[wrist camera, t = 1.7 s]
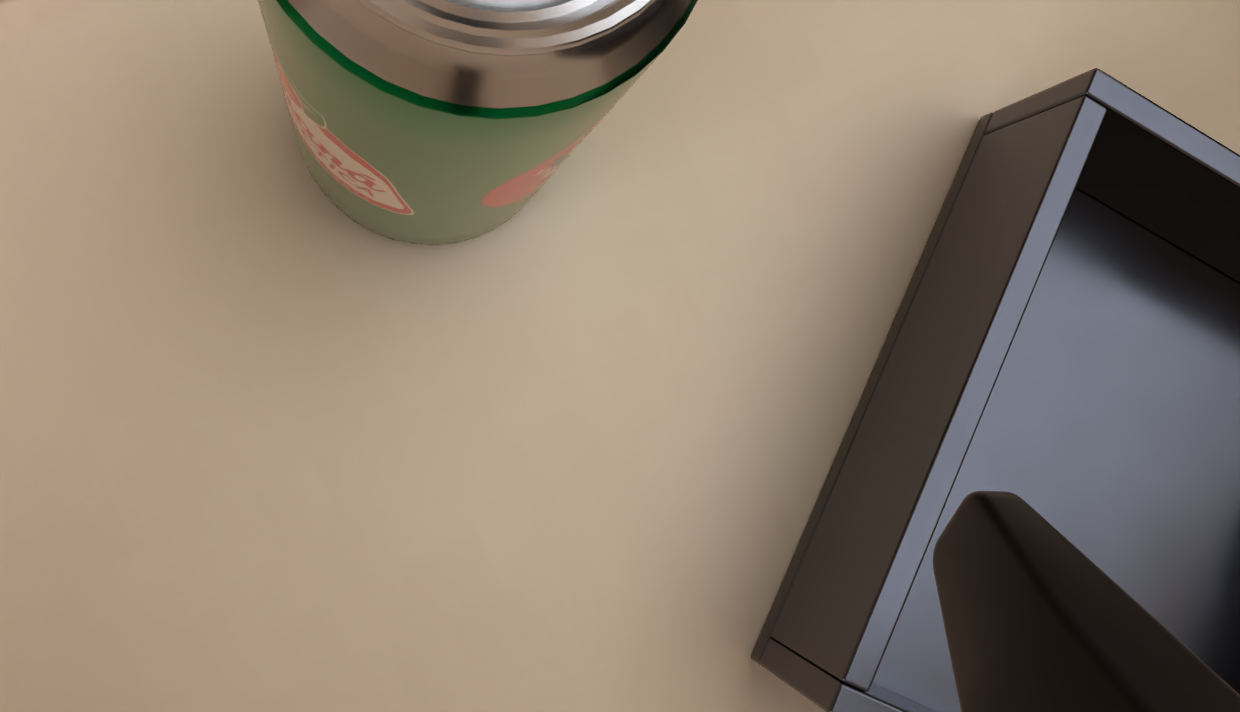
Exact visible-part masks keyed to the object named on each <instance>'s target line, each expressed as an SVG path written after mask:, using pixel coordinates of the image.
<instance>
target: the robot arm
mask: <svg viewBox="0 0 1240 712" xmlns="http://www.w3.org/2000/svg"><path fill="white" fill-rule="evenodd" d="M933 570H934V576H935V581H936V586H937V591H938V596H939V601H940V607H941V612H942V617H943V622H944V627H945V632H946V637H947V642H948V648H949V653H950V658H951V663H952V668H953V673H954V678H955V684H956V689H957V694H958V698H959V703H960V707H961V711H962V712H1240V695H1239V694H1238V693H1237V692H1236V691H1235V690H1234V689H1233V688H1232V687H1231V686H1230V685H1228V684H1227V683H1226V682H1225V681H1224V680H1223V679H1222V678H1221V677H1220V676H1218V675H1217V674H1216V673H1215V672H1214V671H1213V670H1212V669H1211V668H1210V667H1208V666H1207V665H1206V664H1205V663H1204V662H1203V661H1202V660H1201V659H1200V658H1198V657H1197V656H1196V655H1195V654H1194V653H1193V652H1192V651H1191V650H1190V649H1188V648H1187V647H1186V646H1185V645H1184V644H1183V643H1182V642H1181V641H1180V640H1178V639H1177V638H1176V637H1175V636H1174V635H1173V634H1172V633H1171V632H1170V631H1168V630H1167V629H1166V628H1165V627H1164V626H1163V625H1162V624H1161V623H1160V622H1158V621H1157V620H1156V619H1155V618H1154V617H1153V616H1152V615H1151V614H1150V613H1149V612H1147V611H1146V610H1145V609H1144V608H1143V607H1142V606H1141V605H1140V604H1139V603H1137V602H1136V601H1135V600H1134V599H1133V598H1132V597H1131V596H1130V595H1129V594H1127V593H1126V592H1125V591H1124V590H1123V589H1122V588H1121V587H1120V586H1119V585H1117V584H1116V583H1115V582H1114V581H1113V580H1112V579H1111V578H1110V577H1109V576H1107V575H1106V574H1105V573H1104V572H1103V571H1102V570H1101V569H1100V568H1099V567H1097V566H1096V565H1095V564H1094V563H1093V562H1092V561H1091V560H1090V559H1089V558H1087V557H1086V556H1085V555H1084V554H1083V553H1082V552H1081V551H1080V550H1079V549H1077V548H1076V547H1075V546H1074V545H1073V544H1072V543H1071V542H1070V541H1069V540H1067V539H1066V538H1065V537H1064V536H1063V535H1062V534H1061V533H1060V532H1059V531H1058V530H1056V529H1055V528H1054V527H1053V526H1052V525H1051V524H1050V523H1049V522H1048V521H1046V520H1045V519H1044V518H1043V517H1042V516H1041V515H1040V514H1039V513H1038V512H1036V511H1035V510H1034V509H1033V508H1032V507H1031V506H1030V505H1029V504H1028V503H1026V502H1025V501H1024V500H1023V499H1022V498H1020V497H1019V496H1017V495H1016V494H1014V493H1011V492H1005V491H975V492H972V493H970V494H968V495H967V496H966V497H965V498H964V499H963V501H962V502H961V504H960V505H959V507H958V508H957V510H956V512H955V513H954V515H953V516H952V518H951V519H950V521H949V522H948V524H947V526H946V527H945V529H944V530H943V532H942V533H941V535H940V537H939V538H938V540H937V542H936V544H935V547H934V551H933Z"/></svg>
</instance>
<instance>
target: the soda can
mask: <svg viewBox="0 0 1240 712" xmlns="http://www.w3.org/2000/svg"><path fill="white" fill-rule="evenodd" d="M697 1H698V0H258V2H259V5H260V9H261V12H262V16H263V19H264V23H265V27H266V30H267V34H268V37H269V41H270V45H271V48H272V52H273V55H274V59H275V62H276V66H277V70H278V73H279V77H280V80H281V84H282V87H283V91H284V95H285V98H286V102H287V105H288V109H289V113H290V116H291V120H292V123H293V127H294V130H295V134H296V137H297V141H298V144H299V148H300V151H301V154H302V157H303V159H304V161H305V163H306V165H307V167H308V170H309V172H310V174H311V176H312V177H313V178H314V180H315V181H316V183H317V184H318V186H319V187H320V189H321V190H322V192H323V193H324V194H325V195H326V196H327V197H328V198H329V199H330V200H331V201H332V202H333V204H334V205H335V206H336V207H337V208H338V209H340V210H341V211H342V212H343V213H345V214H346V215H347V216H348V217H350V218H351V219H352V220H354V221H355V222H357V223H358V224H360V225H362V226H364V227H366V228H367V229H369V230H371V231H373V232H375V233H378V234H380V235H383V236H386V237H388V238H391V239H394V240H398V241H403V242H408V243H412V244H427V245H439V244H449V243H456V242H460V241H464V240H468V239H472V238H475V237H477V236H480V235H482V234H484V233H486V232H489V231H491V230H493V229H494V228H496V227H498V226H499V225H501V224H502V223H504V222H505V221H507V220H508V219H510V218H511V217H512V216H513V215H514V214H515V213H516V212H517V211H518V210H520V209H521V208H522V207H523V206H524V205H525V204H526V203H527V202H528V200H529V199H530V198H531V197H532V196H533V195H534V194H535V193H536V192H537V190H538V189H539V188H540V187H541V186H542V185H543V184H544V183H545V182H546V180H547V179H548V178H549V177H550V176H551V175H552V174H553V173H554V172H555V170H556V169H557V168H558V167H559V166H560V165H561V164H562V163H563V162H564V160H565V159H566V158H567V157H568V156H569V155H570V154H571V153H572V152H573V151H574V149H575V148H576V147H577V146H578V145H579V144H580V143H581V142H582V141H583V139H584V138H585V137H586V136H587V135H588V134H589V133H590V132H591V131H592V129H593V128H594V127H595V126H596V125H597V124H598V123H599V122H600V121H601V119H602V118H603V117H604V116H605V115H606V114H607V113H608V112H609V111H610V109H611V108H612V107H613V106H614V105H615V104H616V103H617V102H618V101H619V100H620V98H621V97H622V96H623V95H624V94H625V93H626V92H627V91H628V90H629V88H630V87H631V86H632V85H633V84H634V83H635V82H636V81H637V80H638V78H639V77H640V76H641V75H642V74H643V73H644V72H645V71H646V70H647V68H648V67H649V66H650V65H651V64H652V63H653V62H654V61H655V60H656V58H657V57H658V56H659V55H660V54H661V53H662V52H663V51H664V49H665V48H666V47H667V46H668V44H669V43H670V42H671V41H672V39H673V38H674V37H675V36H676V34H677V33H678V32H679V30H680V29H681V28H682V27H683V25H684V24H685V23H686V21H687V19H688V17H689V15H690V13H691V12H692V10H693V8H694V6H695V4H696V2H697Z"/></svg>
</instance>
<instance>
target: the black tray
mask: <svg viewBox="0 0 1240 712" xmlns="http://www.w3.org/2000/svg"><path fill="white" fill-rule="evenodd" d="M975 491H1005V492H1011V493H1014V494H1016V495H1017V496H1019V497H1020V498H1022V499H1023V500H1024V501H1025V502H1026V503H1028V504H1029V505H1030V506H1031V507H1032V508H1033V509H1034V510H1035V511H1036V512H1038V513H1039V514H1040V515H1041V516H1042V517H1043V518H1044V519H1045V520H1046V521H1048V522H1049V523H1050V524H1051V525H1052V526H1053V527H1054V528H1055V529H1056V530H1058V531H1059V532H1060V533H1061V534H1062V535H1063V536H1064V537H1065V538H1066V539H1067V540H1069V541H1070V542H1071V543H1072V544H1073V545H1074V546H1075V547H1076V548H1077V549H1079V550H1080V551H1081V552H1082V553H1083V554H1084V555H1085V556H1086V557H1087V558H1089V559H1090V560H1091V561H1092V562H1093V563H1094V564H1095V565H1096V566H1097V567H1099V568H1100V569H1101V570H1102V571H1103V572H1104V573H1105V574H1106V575H1107V576H1109V577H1110V578H1111V579H1112V580H1113V581H1114V582H1115V583H1116V584H1117V585H1119V586H1120V587H1121V588H1122V589H1123V590H1124V591H1125V592H1126V593H1127V594H1129V595H1130V596H1131V597H1132V598H1133V599H1134V600H1135V601H1136V602H1137V603H1139V604H1140V605H1141V606H1142V607H1143V608H1144V609H1145V610H1146V611H1147V612H1149V613H1150V614H1151V615H1152V616H1153V617H1154V618H1155V619H1156V620H1157V621H1158V622H1160V623H1161V624H1162V625H1163V626H1164V627H1165V628H1166V629H1167V630H1168V631H1170V632H1171V633H1172V634H1173V635H1174V636H1175V637H1176V638H1177V639H1178V640H1180V641H1181V642H1182V643H1183V644H1184V645H1185V646H1186V647H1187V648H1188V649H1190V650H1191V651H1192V652H1193V653H1194V654H1195V655H1196V656H1197V657H1198V658H1200V659H1201V660H1202V661H1203V662H1204V663H1205V664H1206V665H1207V666H1208V667H1210V668H1211V669H1212V670H1213V671H1214V672H1215V673H1216V674H1217V675H1218V676H1220V677H1221V678H1222V679H1223V680H1224V681H1225V682H1226V683H1227V684H1228V685H1230V686H1231V687H1232V688H1233V689H1234V690H1235V691H1236V692H1237V693H1238V694H1239V695H1240V155H1238V154H1237V153H1235V152H1233V151H1232V150H1230V149H1229V148H1227V147H1225V146H1224V145H1222V144H1220V143H1219V142H1217V141H1215V140H1214V139H1212V138H1211V137H1209V136H1207V135H1206V134H1204V133H1202V132H1201V131H1199V130H1198V129H1196V128H1194V127H1193V126H1191V125H1189V124H1188V123H1186V122H1184V121H1183V120H1181V119H1180V118H1178V117H1176V116H1175V115H1173V114H1171V113H1170V112H1168V111H1167V110H1165V109H1163V108H1162V107H1160V106H1158V105H1157V104H1155V103H1154V102H1152V101H1150V100H1149V99H1147V98H1145V97H1144V96H1142V95H1140V94H1139V93H1137V92H1136V91H1134V90H1132V89H1131V88H1129V87H1127V86H1126V85H1124V84H1123V83H1121V82H1119V81H1118V80H1116V79H1114V78H1113V77H1111V76H1109V75H1108V74H1106V73H1105V72H1103V71H1101V70H1100V69H1097V68H1095V69H1092V70H1090V71H1088V72H1085V73H1083V74H1081V75H1078V76H1076V77H1074V78H1071V79H1069V80H1067V81H1064V82H1062V83H1060V84H1058V85H1055V86H1053V87H1051V88H1048V89H1046V90H1044V91H1041V92H1039V93H1037V94H1034V95H1032V96H1030V97H1027V98H1025V99H1023V100H1020V101H1018V102H1016V103H1013V104H1011V105H1009V106H1006V107H1004V108H1002V109H999V110H997V111H995V112H994V113H990V114H987V115H985V116H983V117H981V119H980V121H979V123H978V126H977V128H976V130H975V133H974V135H973V137H972V140H971V142H970V144H969V147H968V149H967V151H966V154H965V156H964V158H963V161H962V163H961V165H960V168H959V170H958V173H957V175H956V177H955V180H954V182H953V184H952V187H951V189H950V191H949V194H948V196H947V198H946V201H945V203H944V205H943V208H942V210H941V212H940V215H939V217H938V219H937V222H936V224H935V226H934V229H933V231H932V233H931V236H930V238H929V240H928V243H927V245H926V247H925V250H924V252H923V254H922V257H921V259H920V261H919V264H918V266H917V268H916V271H915V273H914V275H913V278H912V280H911V282H910V285H909V287H908V290H907V292H906V294H905V297H904V299H903V301H902V304H901V306H900V308H899V311H898V313H897V315H896V318H895V320H894V322H893V325H892V327H891V329H890V332H889V334H888V336H887V339H886V341H885V343H884V346H883V348H882V350H881V353H880V355H879V357H878V360H877V362H876V364H875V367H874V369H873V371H872V374H871V376H870V378H869V381H868V383H867V385H866V388H865V390H864V392H863V395H862V397H861V400H860V402H859V404H858V407H857V409H856V411H855V414H854V416H853V418H852V421H851V423H850V425H849V428H848V430H847V432H846V435H845V437H844V439H843V442H842V444H841V446H840V449H839V451H838V453H837V456H836V458H835V460H834V463H833V465H832V467H831V470H830V472H829V474H828V477H827V479H826V481H825V484H824V486H823V488H822V491H821V493H820V495H819V498H818V500H817V502H816V505H815V507H814V510H813V512H812V514H811V517H810V519H809V521H808V524H807V526H806V528H805V531H804V533H803V535H802V538H801V540H800V542H799V545H798V547H797V549H796V552H795V554H794V556H793V559H792V561H791V563H790V566H789V568H788V570H787V573H786V575H785V577H784V580H783V582H782V584H781V587H780V589H779V591H778V594H777V596H776V598H775V601H774V603H773V605H772V608H771V610H770V612H769V615H768V617H767V620H766V622H765V624H764V627H763V629H762V631H761V634H760V636H759V638H758V641H757V643H756V645H755V648H754V650H753V652H752V655H751V658H752V659H753V660H754V661H756V662H757V663H759V664H761V665H762V666H763V667H764V668H766V669H767V670H769V671H770V672H771V673H773V674H774V675H776V676H777V677H778V678H780V679H781V680H783V681H784V682H785V683H787V684H788V685H790V686H791V687H793V688H794V689H795V690H797V691H798V692H800V693H801V694H802V695H804V696H805V697H807V698H808V699H809V700H811V701H812V702H814V703H815V704H816V705H818V706H819V707H821V708H822V709H823V710H825V711H826V712H962V711H961V707H960V703H959V698H958V694H957V689H956V684H955V678H954V673H953V668H952V663H951V658H950V653H949V648H948V642H947V637H946V632H945V627H944V622H943V617H942V612H941V607H940V601H939V596H938V591H937V586H936V581H935V576H934V570H933V551H934V547H935V544H936V542H937V540H938V538H939V537H940V535H941V533H942V532H943V530H944V529H945V527H946V526H947V524H948V522H949V521H950V519H951V518H952V516H953V515H954V513H955V512H956V510H957V508H958V507H959V505H960V504H961V502H962V501H963V499H964V498H965V497H966V496H967V495H968V494H970V493H972V492H975Z"/></svg>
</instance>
